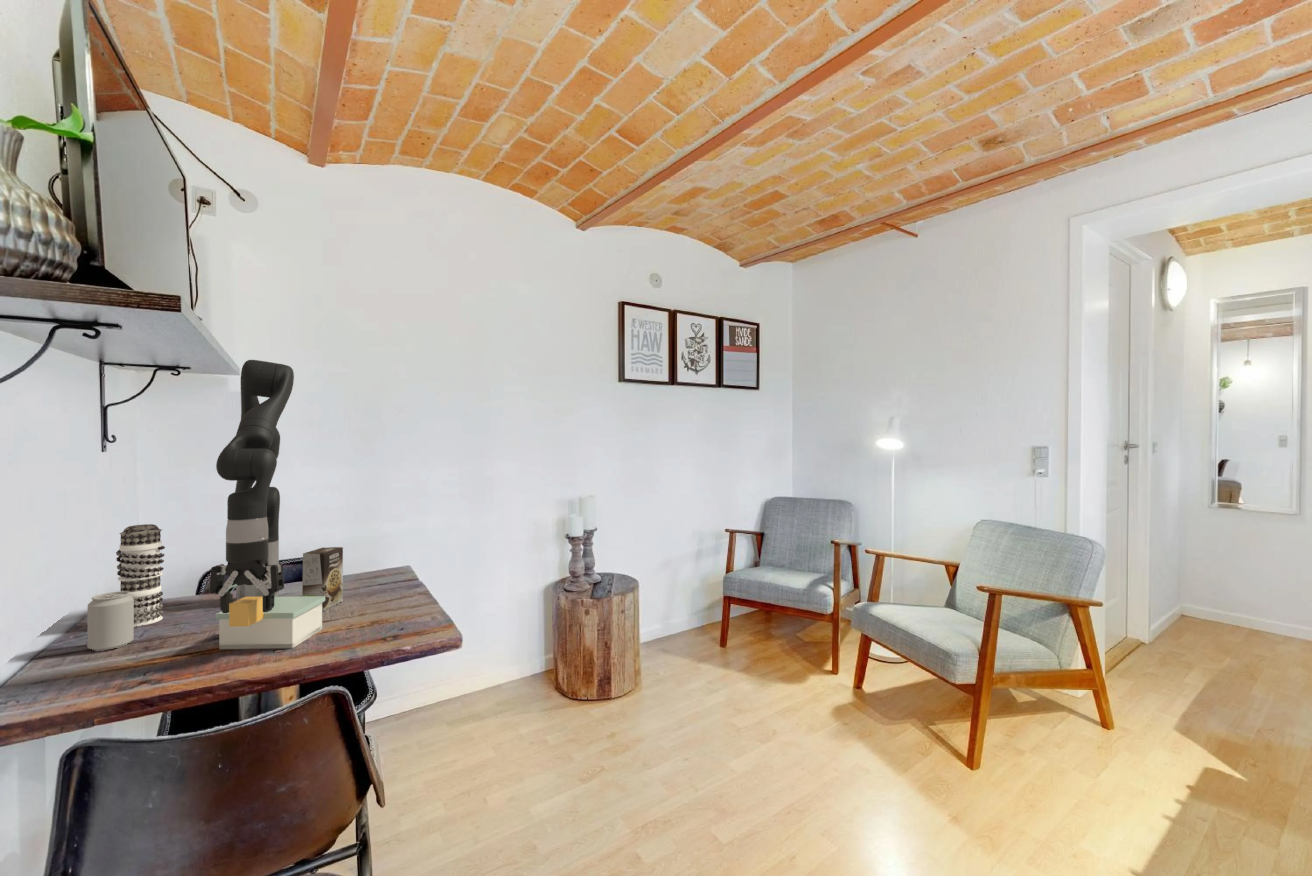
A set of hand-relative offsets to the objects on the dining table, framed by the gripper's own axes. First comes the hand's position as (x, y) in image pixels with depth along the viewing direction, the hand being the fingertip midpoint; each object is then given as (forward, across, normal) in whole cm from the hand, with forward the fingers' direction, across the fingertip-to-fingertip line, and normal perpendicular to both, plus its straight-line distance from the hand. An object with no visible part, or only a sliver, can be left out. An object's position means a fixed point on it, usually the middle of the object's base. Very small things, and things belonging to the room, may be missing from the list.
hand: (247, 611), depth 120 cm
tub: (+9, 0, -9) cm, 13 cm away
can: (+9, +34, -6) cm, 36 cm away
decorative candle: (+9, +42, -23) cm, 49 cm away
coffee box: (+9, +2, -34) cm, 35 cm away
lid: (+3, 0, -7) cm, 7 cm away
